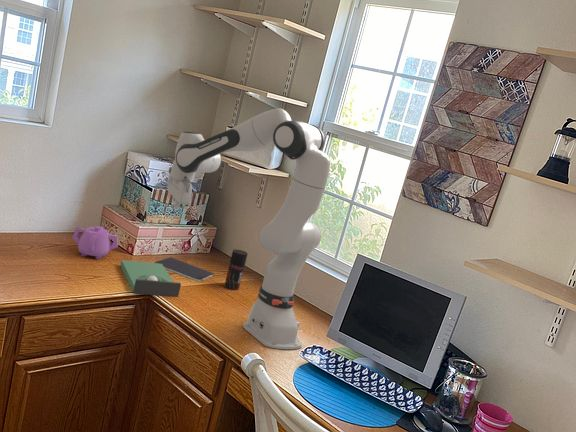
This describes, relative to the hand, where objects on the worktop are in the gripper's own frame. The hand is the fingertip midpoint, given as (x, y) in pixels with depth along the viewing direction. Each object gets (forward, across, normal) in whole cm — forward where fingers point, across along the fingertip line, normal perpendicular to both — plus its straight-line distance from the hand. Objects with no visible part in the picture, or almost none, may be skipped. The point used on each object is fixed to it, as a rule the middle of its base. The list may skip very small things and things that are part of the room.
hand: (175, 209), depth 224 cm
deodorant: (+27, -5, -28) cm, 39 cm away
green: (+27, -5, +6) cm, 28 cm away
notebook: (+28, +10, -12) cm, 32 cm away
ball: (+25, -11, +6) cm, 28 cm away
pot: (+27, +18, +23) cm, 40 cm away
